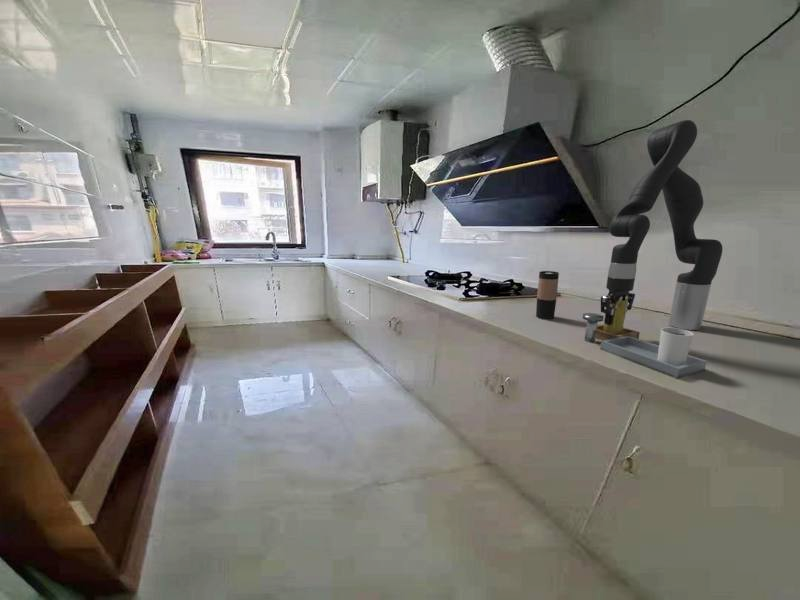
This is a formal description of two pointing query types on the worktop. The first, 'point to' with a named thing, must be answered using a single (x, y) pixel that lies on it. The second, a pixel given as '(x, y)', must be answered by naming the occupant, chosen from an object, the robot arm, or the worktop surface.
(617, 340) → the tray
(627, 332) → the holder
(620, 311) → the vase
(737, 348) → the worktop surface
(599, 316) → the knob post
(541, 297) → the travel mug
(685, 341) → the white cup
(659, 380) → the worktop surface
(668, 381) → the worktop surface
